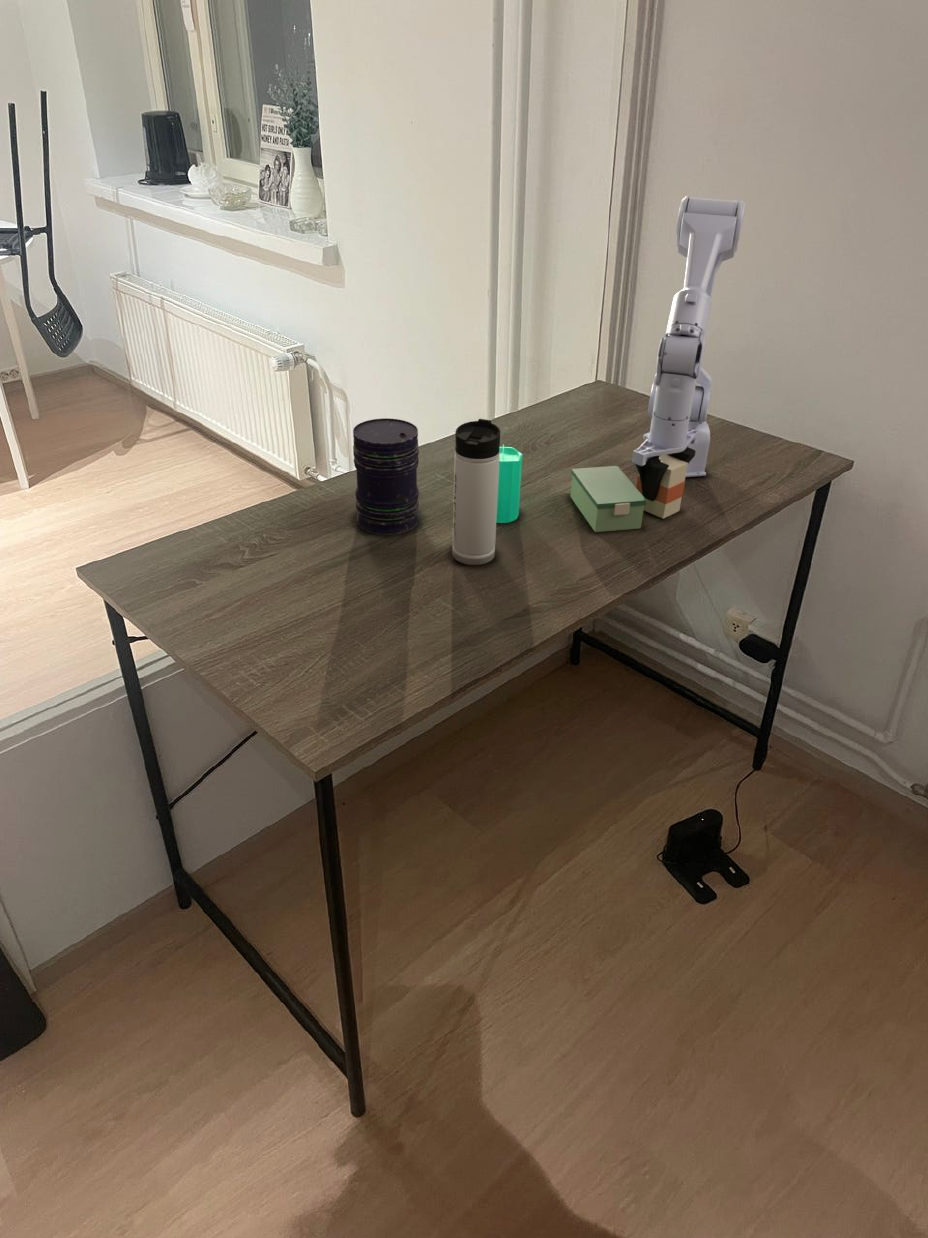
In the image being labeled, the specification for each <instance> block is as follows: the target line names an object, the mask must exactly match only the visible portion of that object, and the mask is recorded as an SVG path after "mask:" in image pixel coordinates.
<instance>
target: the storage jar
mask: <svg viewBox="0 0 928 1238" xmlns="http://www.w3.org/2000/svg"><path fill="white" fill-rule="evenodd" d="M352 434H353V435H352V437H353V446H352V452H353V453H352V454H353V465H354V468H355V469H356V471H355V472H356V487H355V492H354V496H355V509H356V514H357V516H356V522H357V523H356V524H357V525H358V526H359V527H360V528H361V529H362V530H364V531H365V532H368V533H372V534H375V535H384V536H385V535H386V536H389V535H400V534H403V533H406V532H409V531H411V530H413V529H414V528H415V527H416V526H417V525H418V524H419V509H420V508H419V507H420V497H419V496H420V491H419V490H420V489H419V486H418V485H417V484H418V483H417V482H418V474H417V471H418V470H417V469H418V468H419V462H420V458H419V455H420V446H419V439H418V437H419V430H418V427H417V426H416V425H415V424H413V423H412V422H410V421H406V420H403V419H399V418H383V417H382V418H375V419H368V420H364V421H362V422H360V423H358V424H356V425H355V426H354V427H353V429H352Z"/></svg>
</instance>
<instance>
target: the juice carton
mask: <svg viewBox="0 0 928 1238" xmlns="http://www.w3.org/2000/svg"><path fill="white" fill-rule="evenodd" d="M660 459H661V462H662V463H665V464H667V465H669V467H668V468H667V470H666V471H665V473H664V475H663V477H662V480H661V483H660V486H659V490H658V494H657V497H656V499H655V500H654V501H650V500H648V499H646V498H645V499H646V500H647V502H646V505H644V509H643V512H644V511H645V512H647V513H649V514H652V515H654V516H656V517H658V518H661V519H666V518H667V517H670V516H672V515H674V514H677V513H678V512H680V511H681V504H682V498H683V496H684V490H685V485H686V478H687V477H686V471H687V465H688V463H687V462H684V461H682V460H679V459H676V458H674V457H671V456H669V455H661V456H660V457H659V460H660ZM637 474H638V475H637V478H636V485H635V487H636V488H637V490H638V491H639V492H640V493H641V494H642V487H641V480H640V476H639V473H637Z"/></svg>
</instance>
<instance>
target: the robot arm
mask: <svg viewBox="0 0 928 1238" xmlns="http://www.w3.org/2000/svg"><path fill="white" fill-rule="evenodd" d="M745 212H746V203H745V202H744V200H743V199H742V200H741V199H739V200H730V199H729V200H728V199H717V198H701V197H690V196H689V195H686V196H684V198H682V200H681V201H680V204H679V209H678V214H677V220H676V227H675V228H676V229H675V236H676V247H677V253H678V254H679V255H681V256H683V257H684V258H686V267H685V275H684V283H683V288H682V289H681V290H679V291H677V293H676V294H674V296H673V298H672V303H671V307H670V313H669V315H668V320H667V321H668V322H667V326H666V330H665V334H664V336H661V339H660V342H659V345H658V350H657V356H656V373H655V375H654V377H653V383H652V386H651V390H650V395H649V401H648V407H647V413H648V415H649V417H650V418H651V421H650V429H649V432H647V433H644V434H643V440H644V442H642V443H641V444H640V446H639V447H638V448H636V449H634V450H633V451H632V456H631V457H632V458H631V463H633V464H634V465H635V467H636V470H637V472H638V474H639V476H640V480H641V487H642V495H643V497H644V498H646V499H648V500H650V501H654V500H655V499H656V497H657V494H658V490H659V486H660V483H661V480H662V477H663V475H664V473H665V471H666V470H667V468H668V467H669V465H667V464H665V463H662V462H661V459H660V460H659V457H660V456H661V455H669V456H671V457H674V458H676V459H679V460H682V461H684V462H687V463H688V465H687V471H686V477H685V478H695V477H706V476H707V472H705V470H706V466H707V465H706V464H707V461H708V460H707V459H708V454H709V449H710V444H711V430H710V427H709V425H708V422H707V416H708V411H709V408H710V407H709V406H710V401H711V395H712V387H713V380H712V376H711V374H709V373H708V371H706V370H705V368H703V362H704V357H705V350H706V334H707V327H708V323H709V319H710V317H709V316H710V312H711V307H712V297H713V290H714V286H715V279H716V275H717V273H718V271H719V269H720V267H721V265H722V263H723V262H725V261H728V260H730V259H733V258H734V257H735V253H736V252H737V251H738V247H739V241H740V238H741V233H742V228H743V223H744V218H745ZM696 384H699V385H696Z"/></svg>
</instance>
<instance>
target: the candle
mask: <svg viewBox="0 0 928 1238" xmlns="http://www.w3.org/2000/svg"><path fill="white" fill-rule="evenodd" d="M499 456H500V458H499V478H498V498H497V518H496V524H506V523H507V524H508V523H511V522H515V521H516V520H517V519H518V517H519V515H520V504H521V503H520V502H521V500H520V499H521V486H522V484H521V483H522V470H523V453H521V452H520V451H519V450H518V449H516V448H514V447H512V446H505V444H504V443H503V444H502V446H500V455H499Z"/></svg>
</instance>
